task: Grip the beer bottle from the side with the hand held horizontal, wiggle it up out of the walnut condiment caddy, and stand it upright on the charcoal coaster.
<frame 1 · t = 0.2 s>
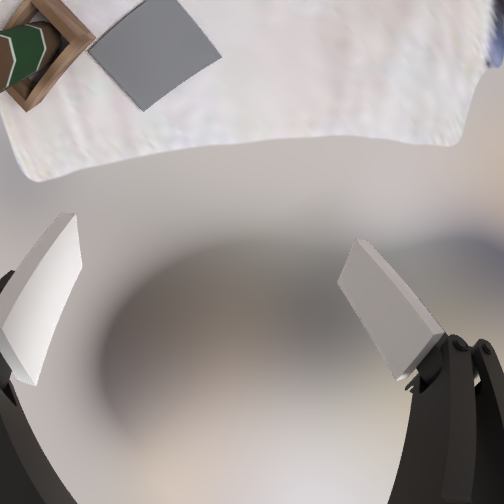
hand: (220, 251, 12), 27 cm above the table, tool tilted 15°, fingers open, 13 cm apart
beer bottle: (42, 45, 19), resting in caddy
caddy: (41, 45, 19), on the table
coaster: (152, 49, 25), on the table
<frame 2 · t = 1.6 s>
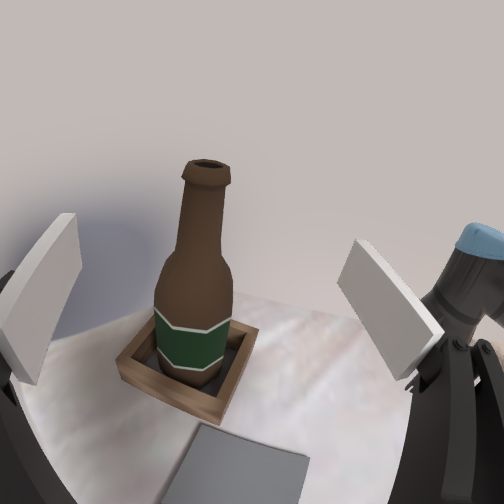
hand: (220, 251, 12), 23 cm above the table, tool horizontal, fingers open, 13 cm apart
beer bottle: (190, 366, 32), resting in caddy
caddy: (190, 365, 31), on the table
coaster: (237, 491, 19), on the table
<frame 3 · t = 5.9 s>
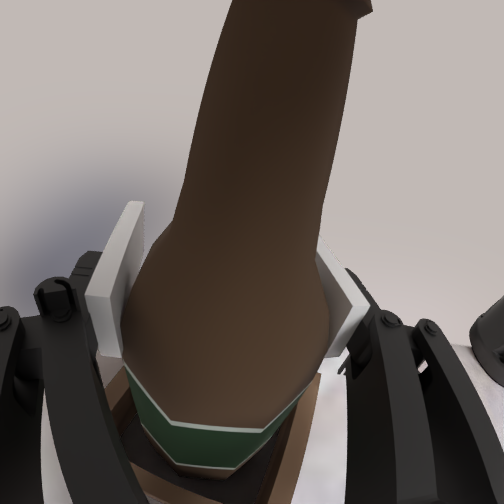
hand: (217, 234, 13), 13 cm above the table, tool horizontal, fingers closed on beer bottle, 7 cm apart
beer bottle: (202, 437, 16), resting in caddy, touching gripper
caddy: (203, 436, 16), on the table
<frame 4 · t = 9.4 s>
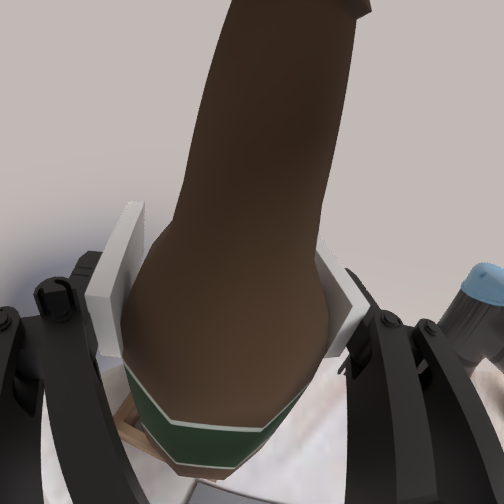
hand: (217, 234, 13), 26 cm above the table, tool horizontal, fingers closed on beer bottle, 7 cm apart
beer bottle: (202, 436, 16), point 13 cm above the table, touching gripper
caddy: (184, 421, 28), on the table
when the fingers open (15 cm above the table, at t = 13.1 s): beer bottle drops 1 cm, resting on coaster.
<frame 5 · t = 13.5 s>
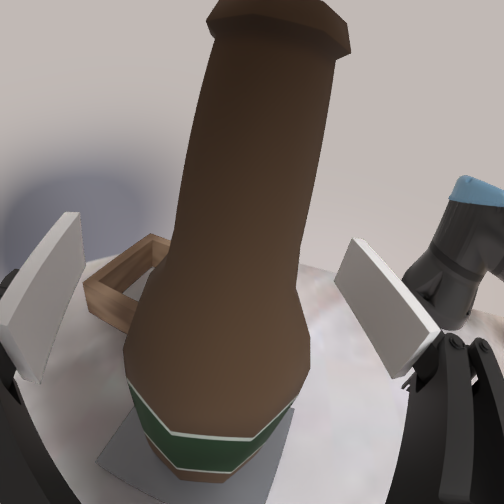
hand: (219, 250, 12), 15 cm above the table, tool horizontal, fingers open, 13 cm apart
beer bottle: (201, 443, 17), resting on coaster
caddy: (164, 302, 30), on the table
coaster: (201, 444, 17), on the table
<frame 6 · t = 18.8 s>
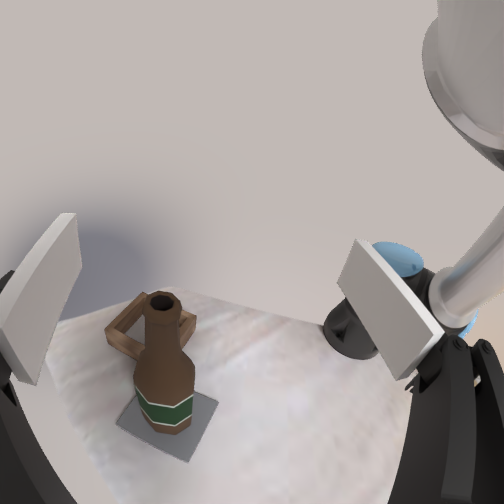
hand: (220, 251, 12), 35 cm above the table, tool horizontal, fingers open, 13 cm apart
beer bottle: (168, 415, 35), resting on coaster
caddy: (152, 337, 48), on the table
coaster: (168, 416, 35), on the table
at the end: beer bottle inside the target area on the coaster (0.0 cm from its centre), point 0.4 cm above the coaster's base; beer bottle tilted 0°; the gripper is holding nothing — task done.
